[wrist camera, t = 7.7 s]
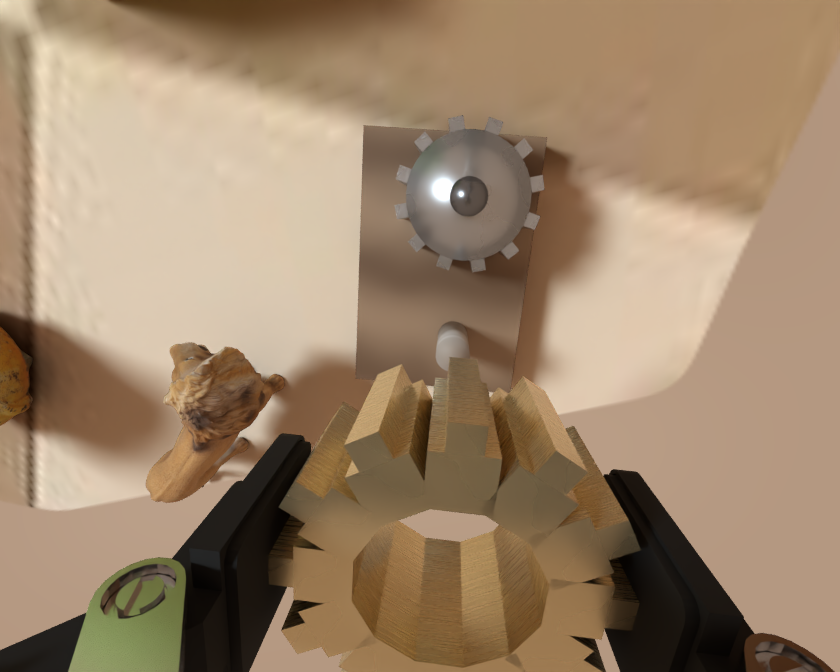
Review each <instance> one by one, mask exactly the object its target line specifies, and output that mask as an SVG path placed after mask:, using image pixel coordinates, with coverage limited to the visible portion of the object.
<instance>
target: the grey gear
mask: <svg viewBox="0 0 840 672" xmlns="http://www.w3.org/2000/svg"><path fill="white" fill-rule="evenodd" d="M502 124H503V122H502V121H499V120H496V119H493V118H491V117H489V119H488V122H487V125H486V128H485V130H477V129H465V125H464V118H463V115H462V116H458V117H453V118H449V134H446V135H444V136H442V137H440V138H439V139H437V140H435V141H434V142H433V141H432V140H431V138H430V137H429V136H428V135H427V133H426V132H424V133H423V134H422V135H421V136H420V137H419V138H418V139H417V140H416V141H415V142H414V143H415V145H416V147H417V149H418V151H419V152H420V153H421V155H420V156H419V158H418V159H417V160H416V162H415V164H414V166H413V168H412V169H410V168H407V167H405V166H402V165H400V167H399V170H398V173H397V176H396V180H398V181H399V182H401V183H402V184H404V185H407V190H406V203H403V204H398V205H394V206H395V211H396V217H397V219H407V218H409V219H410V221H411V224H412V226H413V228H414V230H415V232H416V233H417V234H416V235H415V236H414V237H413V238H411V239H410V240H409V241H408V243H409V244H410V245H411V246H412V247H413V249H414V250H415V251H416V252H417V251H419V250H420V249H421V248H422V247H423V246H424V245H425V244H426V245H427V246H428V247H429V248H431V249H432V250H433V251H435V252H437V253H438V254H440V256H439V259H438V262H437V265H436V266H438V267H441V268H443V269H446V270H449V268H450V266H451V263H452V260H453V259H455V260H461V261H469V262H470V267H471V270H472V272H478V271H483V270H486V267H485V261H484V258H486V257H488V256H491V255H493V254H495V253H497V252H500V253H501V255H503V256H504V257H505V258H507V259H510V258H511V257H512V256H513V255H515V254H516V253H517V252H518V251H519V250H518V248H517V247H516V246H515V245H514V243H513V242H512V240H513V239H514V238H515V237H516V236H517V235H518V233H519V232H520V230H521V228H525V229H532V230H535V228H536V226H537V223H538V221H539V219H540V216H539V215H536V214H533V213H530V212H529V209H530V204H531V194H532V193H536V192H539V191H542V190H544V181H543V175H540V176H535V177H530V176H529V173H528V170H527V167H526V165H525V163H524V161H523V158H525V157H526V156H527V155H528V154H529V153H530V152H531V151H533V149H532V148H531V146H530V145H529V144H528V142H527V141H526V140H525V138H524V139H523V140H521V141H520V142H519V143H518V144H517V145H516V146H515V147H513V146H512V145H511V144H509V143H508V142H507V141H506V140H504V139H503V138H501V137H500V136H498V135H499V132H500V130H501V127H502Z"/></svg>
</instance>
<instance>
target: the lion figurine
mask: <svg viewBox="0 0 840 672" xmlns="http://www.w3.org/2000/svg"><path fill="white" fill-rule="evenodd" d="M170 355H171V357H172V358H173V361H174V364H175V368H174V370H173V372H172V380H173V382H172V383H171V385H170V387H169V390H170V391H169V393H168V394H167V395H165V396H164V401H163V404H166V405H171V406H173V407H174V408H175V409H176V411H177V413H178V414H179V416H180V418H181V419H182V424H183V425H184V427H183V429H182V431H181V433H180V435H179V437H178V439H177V441H176V444H175V446H174V448H173V449H172V450H170V451H168V452H167V453H166V454H165V455H164V456H163V457H162V458H161V459H160V460H159V461H158V462H157V463H156V464H155V465H154V466H153V467H152V469H151V470H150V471H149V474H148V476H147V480H146V487H147V489H148V491H149V492H150V494H151V498H152V500H154V501H156V502H157V501H158V502H159V501H163V502H166V503H170V502H176V501H180V500H182V499H184V498H186V497H188V496H190V495H192V494H193V493H194V492H196V491H197V490H198V489H200V488H201V487H203V486H204V484H206V483H207V482H208V481H209V480H210V479H211V478H212V476H213V475H214V474H215V473H216V472H217V471H218V469H219V468H220V466H221V465H223V464H224V463H225V462H226V461H228V460H229V459H230V458H231V457H233V456H234V455H236V454H238V453H241V452H244V451H245V450H247V448H248V442H247V441H246V440H244V439H243V438H241V437H239V438H237V436H238V434H239V432H240V431H242V430H243V429H245V428H247V427H248V426H250V425H251V424H252V423H253V421H254V420H255V419H256V417H257V416H258V414H259V412H260V411H261V410H262V409H263V408H264V407H265V405H266V404H267V402H268V401H269V400H270V398H271V396H272V395H273V394H274V393H275V392H277V391H279V390H281V389H283V387H284V380H283V378H282V377H281V376H279V375H276V374H273V375H272V376H270V377H269V379H266V380H265V381H264V383H263V382H262V381H261V374H260V373H256V372H255V371H254V369H253V367H252V366H251V364H250V362H249V361H248V360H247V359H245V356H244V354H243V353H241V352H240V351H239V350H238V349H234V348H232V347H225V348H224V349H222V350H220V351H219V352H218V353H216V354H211V353H210V352H209V350H208V349H207V348H206V346H204V345H197V344H195V343H192V342H189V343H184V344H175V345H173V346H172V347H171V348H170Z"/></svg>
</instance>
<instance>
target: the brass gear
mask: <svg viewBox="0 0 840 672" xmlns="http://www.w3.org/2000/svg"><path fill="white" fill-rule="evenodd" d="M279 508H281V509H282V510H284V511H286V512H287V513H289V514H290V517H289V519H288V521H287V523H286V525H285V526H284V528H283V530H282V532H281V534H280V536H279V537H278V539H277V541H276V543H275V545H274V547H273V548H272V550H271V552H270V554H269V556H268V569H269V584H270V585H278V586H286V587H293V588H294V601H293V603H292V606H291V608H290V611H289V613H288V615H287V618H286V620H285V623H284V625H283V627H282V630H281V631H282V632H283V634H284V635H285V637H286V638H287V640H288V641H289V643H290V644H291V645H292V647H293V648H294V649H295V651H296V653H297V654H299V653H303V652H306V651H309V650H313V649H316V648H319V647H322V648H323V650H324V651H325V653H326V654H327V656H328V657H330V656H334V655H338V654H341V653H342V657H341V660H340V664H339V667H340V668H342V670H341V672H606V671H605V668H604V665H603V662H602V659H601V656H600V653H599V650H598V647H597V644H596V641H595V639H600V640H601V639H602V636H603V632H604V628H611V629H619V630H626V631H632V628H633V624H634V621H635V617H636V614H637V611H638V607H639V604H640V603H639V601H638V599H637V597H636V595H635V593H634V591H633V589H632V586H631V584H630V582H629V580H628V578H627V576H626V574H625V572H624V570H623V568H622V566H621V564H620V562H619V560H618V557H621V556H624V555H627V554H631V553H634V552H637V551H641V549H640V546H639V544H638V541H637V539H636V537H635V534H634V532H633V529H632V527H631V524H630V522H629V520H628V518H627V516H626V515H625V513H624V511H623V509H622V508H621V506H620V504H619V503H618V501H617V499H616V497H615V496H614V494H613V492H612V491H611V489H610V487H609V485H608V484H607V482H606V480H605V479H604V477H603V475H602V473H601V472H600V470H599V468H598V467H597V465H596V463H595V462H594V460H593V458H592V456H591V455H590V453H589V451H588V450H587V448H586V446H585V444H584V443H583V441H582V439H581V438H580V436H579V434H578V432H577V431H576V429H575V427H574V426H572V427H569V428H566V429H565V428H564V426H563V424H562V422H561V420H560V418H559V417H558V415H557V413H556V411H555V409H554V407H553V405H552V403H551V402H550V400H549V398H548V396H547V394H546V392H545V391H544V390H542V389H541V388H540V387H538V386H537V385H535V384H534V383H532V382H531V381H529V380H528V379H526V378H525V377H524V376H523V377H522V378H521V379H520V380H519V382H518V383H517V384H516V385H515V386H514V388H513V389H512V390H511V391H510V392H509V394H508V393H506V392H505V391H504V390H502V389H501V388H499V387H498V389H497V390H496V391H495V392H494V393H493V395H492V396H491V397H489V392H488V387H487V383H483V382H481V379H480V373H479V367H478V361H477V360H476V359H466V358H456V357H449V367H448V376H447V379H444V378H435V385H434V394H433V399H432V397H431V395H430V393H429V391H428V389H427V387H426V385H425V383H424V381H423V380H420V381H418V382H416V383H413V384H412V383H411V381H410V379H409V377H408V375H407V373H406V371H405V369H404V367H403V365H402V364H401V365H399V366H396V367H394V368H392V369H389V370H387V371H385V372H382V373H380V374H378V375H377V377H376V379H375V381H374V383H373V386H372V388H371V390H370V392H369V394H368V396H367V398H366V400H365V402H364V404H363V406H362V408H361V411H360V412H359V411H357V410H356V409H354V408H353V407H351V406H350V405H348V404H347V403H345V402H343V404H342V405H341V407H340V408H339V409H338V411H337V412H336V414H335V415H334V417H333V418H332V419H331V421H330V423H329V424H328V426H327V428H326V429H325V431H324V432H323V434H322V436H321V437H320V439H319V441H318V442H317V444H316V446H315V447H314V449H313V451H312V452H311V454H310V456H309V457H308V459H307V461H306V462H305V464H304V466H303V467H302V469H301V471H300V472H299V474H298V476H297V477H296V479H295V481H294V482H293V484H292V485H291V487H290V489H289V490H288V492H287V494H286V495H285V497H284V499H283V500H282V502H281V504H280V505H279ZM429 509H433V510H442V511H451V512H459V513H468V514H476V515H485V516H487V517H488V518H490V519H491V520H493V521H495V522H496V523H498V524H499V525H498V526H497V527H496V529H495V530H494V531H492V532H489V533H486V534H483V535H480V536H477V537H474V538H471V539H468V540H465V541H462V542H456V541H447V540H440V539H432V538H425V537H424V536H422V535H420V534H419V533H417V532H416V531H414V530H412V529H411V528H409V527H408V526H406V525H404V524H403V523H401V522H400V521H398V520H401V519H404V518H406V517H409V516H412V515H415V514H418V513H420V512H423V511H426V510H429Z"/></svg>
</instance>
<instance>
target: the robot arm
mask: <svg viewBox="0 0 840 672" xmlns="http://www.w3.org/2000/svg"><path fill="white" fill-rule="evenodd" d="M310 454H311V444H310V442H305V440H304V437H303V436H301V435H292V434H280V435H279V436H278V438H277V439H276V440H275V441H274V443H273V444H272V445H271V446H270V448H269V449H268V450H267V451H266V453H265V454H264V455H263V456H262V458H261V459H260V460H259V461H258V463H257V464H256V465H255V466H254V468H253V469H252V470H251V471H250V473H249V474H248V475H247V476H246V478H245V479H244V480H243V481H237V482H236V483H234V484H233V485H232V486H231V488H230V489H229V490H228V491H227V493H226V494H225V495H224V496H223V497H222V499H221V500H220V501H219V502H218V503H217V505H216V506H215V507H214V508H213V509H212V511H211V512H210V513H209V514H208V515H207V517H206V518H205V519H204V520H203V522H202V523H201V524H200V525H199V526H198V528H197V529H196V530H195V531H194V533H193V534H192V535H191V536H190V537H189V539H188V540H187V541H186V542H185V543H184V545H183V546H182V547H181V548H180V550H179V551H178V552H177V553H176V554H175V556H174V557H173V558H172V559H171V558H160V557H159V558H152V559H145V560H142V561H139V562H137V563H133V564H131V565H129V566H127V567H125V568H123V569H121V570H119V571H118V572H116V573H115V574H114V575H112V576H111V577H110V578H108V579H107V580H106V581H105V582H104V583H103V584H102V585H101V586H100V587H99V588H98V589H97V591H96V592H95V594H94V596H93V598H92V600H91V601H90V604H89V607H88V610H87V613H85V614H82V615H80V616H78V617H76V618H73V619H71V620H68V621H66V622H64V623H62V624H59V625H57V626H55V627H52V628H50V629H48V630H46V631H43V632H41V633H39V634H36V635H34V636H32V637H30V638H27V639H25V640H23V641H21V642H18V643H16V644H13V645H11V646H9V647H7V648H4V649H2V650H0V672H249V670H250V668H251V666H252V664H253V662H254V659H255V657H256V655H257V653H258V651H259V648H260V646H261V644H262V642H263V639H264V637H265V635H266V633H267V631H268V628H269V626H270V624H271V622H272V619H273V617H274V615H275V613H276V610H277V608H278V606H279V604H280V602H281V599H282V597H283V595H284V593H285V590H286V588H287V587H286V586H278V585H270V584H269V569H268V556H269V554H270V552H271V550H272V548H273V547H274V545H275V543H276V541H277V539H278V537H279V536H280V534H281V532H282V530H283V528H284V526H285V525H286V523H287V521H288V519H289V517H290V514H289V513H287V512H286V511H284V510H282V509H281V508H279V505H280V504H281V502H282V500H283V499H284V497H285V495H286V494H287V492H288V490H289V489H290V487H291V485H292V484H293V482H294V481H295V479H296V477H297V476H298V474H299V472H300V471H301V469H302V467H303V466H304V464H305V462H306V461H307V459H308V457H309V456H310ZM603 477H604V479H605V480H606V482H607V484H608V485H609V487H610V489H611V491H612V492H613V494H614V496H615V497H616V499H617V501H618V503H619V504H620V506H621V508H622V509H623V511H624V513H625V515H626V516H627V518H628V520H629V522H630V524H631V527H632V529H633V532H634V534H635V537H636V539H637V541H638V544H639V546H640V549H641V551H637V552H634V553H631V554H627V555H624V556H621V557H618V560H619V562H620V564H621V566H622V568H623V570H624V572H625V574H626V576H627V578H628V580H629V582H630V584H631V586H632V589H633V591H634V593H635V595H636V597H637V599H638V601H639V603H640V604H639V607H638V611H637V614H636V617H635V621H634V624H633V628H632V631H626V630H619V629H611V628H604V629H605V632H606V634H607V637H608V640H609V642H610V645H611V648H612V651H613V653H614V656H615V659H616V661H617V664H618V667H619V669H620V672H834V671H833V670H832V669H831V668H830V667H829V666H828V665H827V664H826V663H825V662H823V661H822V660H821V659H819V658H817V657H816V656H815V655H814V654H812V653H811V652H809V651H808V650H806V649H805V648H803V647H801V646H799V645H797V644H795V643H794V642H792V641H790V640H787V639H784V638H782V637H779V636H776V635H772V634H765V633H758V634H754V632H753V631H752V630H751V628H750V627H749V626H748V624H747V623H746V621H745V620H744V619H743V618H744V617H743V615H742V614H741V612H740V611H739V610H738V608H737V607H736V606H735V604H734V603H733V601H732V600H731V599H730V597H729V596H728V595H727V593H726V592H725V591H724V589H723V588H722V586H721V585H720V584H719V582H718V581H717V580H716V578H715V577H714V576H713V574H712V573H711V571H710V570H709V569H708V567H707V566H706V565H705V563H704V562H703V560H702V559H701V558H700V556H699V555H698V554H697V552H696V551H695V549H694V548H693V547H692V545H691V544H690V543H689V541H688V540H687V539H686V537H685V536H684V534H683V533H682V532H681V530H680V529H679V528H678V526H677V525H676V523H675V522H674V521H673V519H672V518H671V517H670V515H669V514H668V513H667V511H666V510H665V508H664V507H663V506H662V504H661V503H660V502H659V500H658V499H657V498H656V496H655V495H654V494H653V492H652V491H651V490H650V488H649V487H648V485H647V484H646V483H645V482H644V480H643V478H642V477H641V476H640V475H639V473H638V472H634V471H624V470H615V469H613V470H611V472H610V473H609V475H608V474H605V475H604V476H603Z"/></svg>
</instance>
